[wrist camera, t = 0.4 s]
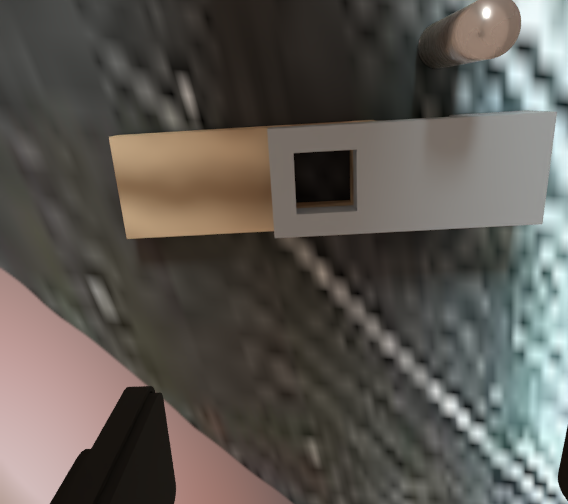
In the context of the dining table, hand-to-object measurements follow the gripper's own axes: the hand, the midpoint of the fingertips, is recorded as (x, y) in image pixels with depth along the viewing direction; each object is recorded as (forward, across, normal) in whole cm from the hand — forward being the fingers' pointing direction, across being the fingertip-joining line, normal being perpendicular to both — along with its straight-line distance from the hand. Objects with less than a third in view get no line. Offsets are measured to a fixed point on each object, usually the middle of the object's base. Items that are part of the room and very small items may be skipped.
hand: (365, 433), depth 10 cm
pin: (+28, -10, -11) cm, 32 cm away
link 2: (+28, -7, -2) cm, 29 cm away
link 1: (+28, +5, -1) cm, 29 cm away
